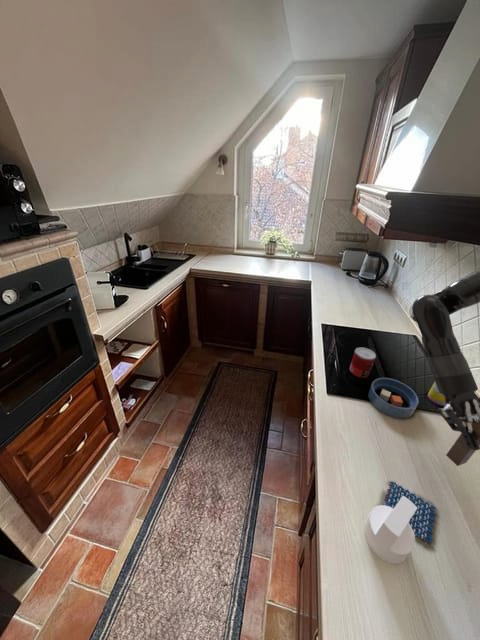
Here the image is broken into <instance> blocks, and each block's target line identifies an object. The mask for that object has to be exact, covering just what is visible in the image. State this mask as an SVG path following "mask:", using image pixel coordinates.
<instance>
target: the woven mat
mask: <svg viewBox="0 0 480 640" xmlns="http://www.w3.org/2000/svg"><path fill="white" fill-rule="evenodd" d="M388 486H389V487H388V488H387V489H386V490H387V491H388V492H386V494H385V496H384V501H385V502H384V504H382V505H385V506H389V507H391V508H393V509H394V507H395V506H396V504H397V503H398V502H399V500H400V499H401V497H402V496H405V497H406V498H407V499H409V500H410V501H411V502H412V503H413V504H414V505H415V506H416V507H417V510H416V511H415V513H414V514H413V516H412V517H411V519H410V520H409V522H408V523H409V524H410V526H411V528H412V530H413V532H414V536H415V537H418V538H419V539H421V540H422V541H424V543H425V544H426V545H431V542H432V540H433V537H432V535H433V533H434V531H433V528H434V526H435V525H434V521H435V516H436V513H435V510H436V509H437V507H435V506H434V505H432V504H431V503H429V501H428V500H427V501H426V500H425V499H422V497H421V496H418V495H416V493H413V492H412V491H411V490H410V491H409V489H408V488H407V489H406V487H402V486H403V485H402V484H400V485H399V483H397V482H396V481H392V480H391V481H389V483H388Z"/></svg>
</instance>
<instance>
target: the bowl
mask: <svg viewBox="0 0 480 640" xmlns="http://www.w3.org/2000/svg"><path fill="white" fill-rule="evenodd" d="M382 389H384V390H386V391H389V392H393V393H395V394H397V395H398V396H400V397H401V398H402V399H404V401H405V402H406V403H407V405H408V407H402V406H401V407H397V406H394V405H391V403H389V402H387V401H384V400H382V399H381V398H380V397H379V396H380V395H378V394H377V392H376V391H378V390H382ZM367 396H368V397H367V398H368V399H369V401H370V403H371V404H372V406H374V407H375V408H376V409H377V410H378V411H380V412H382V413H383V414H385V415H388V416H389V417H393V418H397V419H407V418H409V417H411V416H413V415H414V413H415V411H416V410H417V407H418V405H419V404H420V402H419V397H418V395H417V393H416V392H415V391H414V389H412V388H411V387H410V386H409V385H407V384H406V383H403V382H402V381H399V380H398V379H394V378H390V377H378V378H376V379H374V380H373V381H372V382H371V384H370V387H369V389H368V394H367Z"/></svg>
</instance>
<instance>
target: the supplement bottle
mask: <svg viewBox="0 0 480 640" xmlns="http://www.w3.org/2000/svg"><path fill="white" fill-rule="evenodd" d="M427 398H428V399H429V400H430V401H431V402H432V403H434V404H435V405H437V406H442V407H445V406H446V403H445V396H444V395H443V394H440V393H439V390H438V388H437V385H436V382H435V381H434V382H433V384H432V386H431V387H430V389H429V391H428V393H427Z"/></svg>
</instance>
